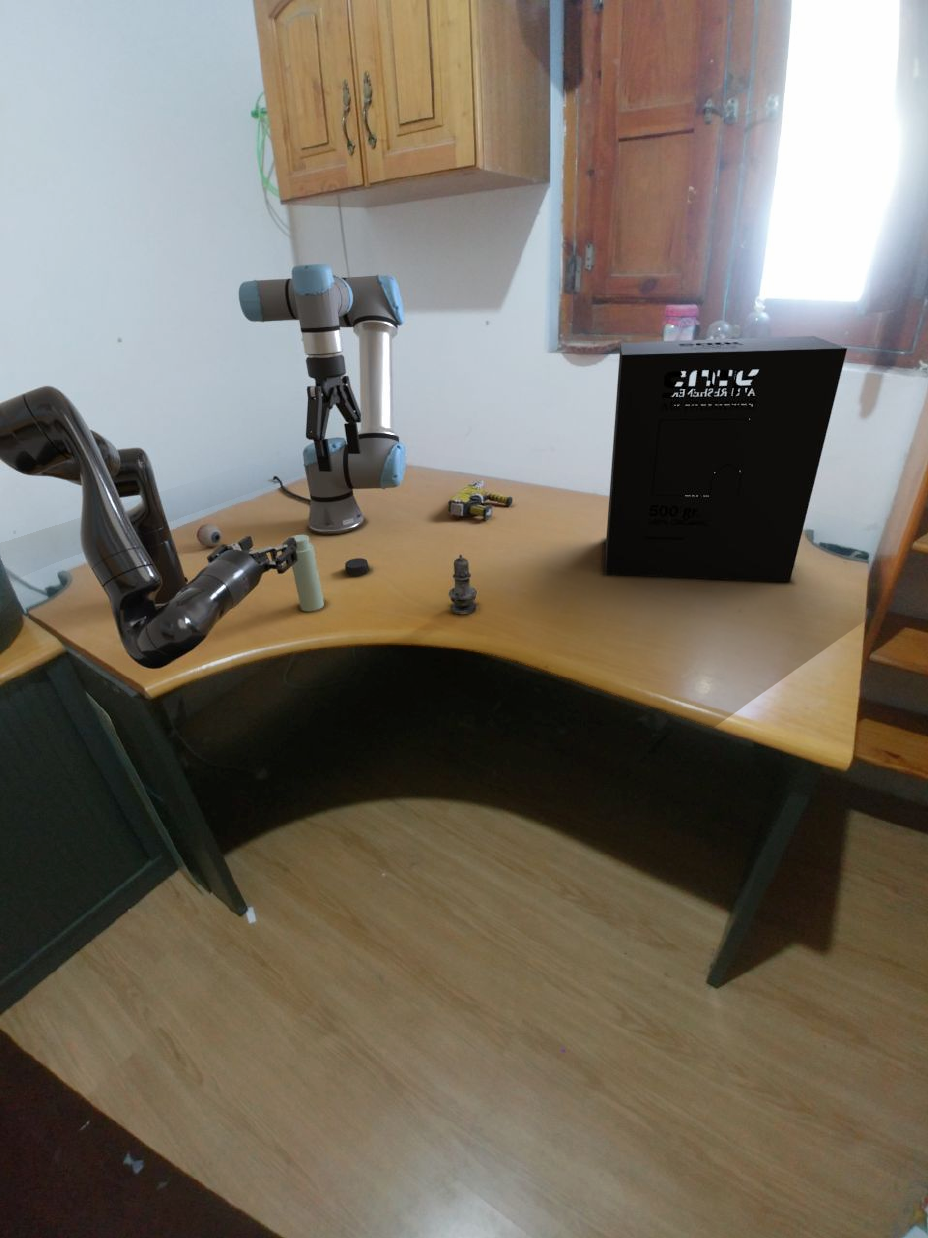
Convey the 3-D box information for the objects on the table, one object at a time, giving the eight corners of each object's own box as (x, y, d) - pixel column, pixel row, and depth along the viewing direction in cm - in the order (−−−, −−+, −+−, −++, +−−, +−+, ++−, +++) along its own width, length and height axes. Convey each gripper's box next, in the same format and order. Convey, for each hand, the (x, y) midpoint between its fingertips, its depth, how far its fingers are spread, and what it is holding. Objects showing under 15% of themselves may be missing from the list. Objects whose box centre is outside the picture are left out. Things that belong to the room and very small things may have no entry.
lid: (346, 577, 139) (345, 569, 138) (345, 568, 144) (344, 559, 143) (369, 574, 140) (368, 565, 139) (368, 565, 145) (366, 556, 144)
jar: (317, 598, 131) (304, 531, 124) (328, 606, 128) (315, 538, 120) (296, 605, 129) (282, 538, 121) (307, 614, 125) (292, 544, 118)
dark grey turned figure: (475, 615, 121) (472, 561, 115) (446, 614, 122) (442, 560, 116) (480, 601, 126) (478, 548, 120) (452, 600, 127) (449, 547, 121)
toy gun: (520, 484, 182) (474, 477, 186) (498, 508, 162) (446, 499, 166) (519, 500, 184) (473, 492, 188) (497, 524, 164) (445, 516, 168)
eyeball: (210, 552, 157) (204, 530, 154) (195, 548, 160) (189, 526, 157) (229, 544, 161) (224, 522, 158) (214, 540, 164) (208, 519, 161)
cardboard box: (768, 543, 143) (813, 335, 121) (789, 582, 126) (847, 348, 104) (606, 538, 151) (620, 342, 128) (605, 574, 134) (622, 354, 111)
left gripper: (262, 562, 93) (304, 522, 107) (179, 558, 96) (231, 521, 110) (272, 604, 97) (311, 561, 111) (192, 600, 100) (241, 558, 113)
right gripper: (336, 347, 130) (350, 446, 141) (273, 364, 110) (295, 478, 120) (368, 346, 128) (380, 447, 139) (310, 363, 108) (329, 480, 118)
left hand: (271, 541), depth 110 cm, fingers open, 8 cm apart
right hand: (340, 462), depth 130 cm, fingers open, 13 cm apart
